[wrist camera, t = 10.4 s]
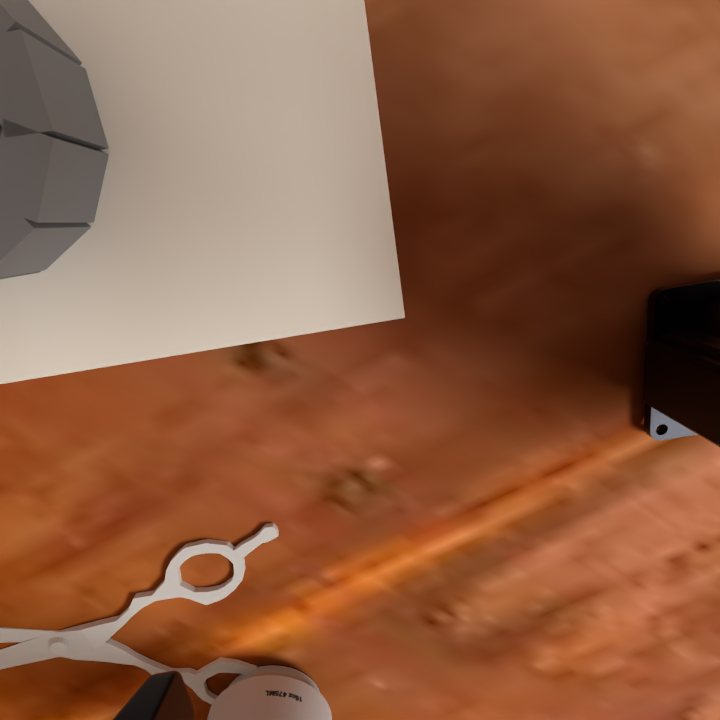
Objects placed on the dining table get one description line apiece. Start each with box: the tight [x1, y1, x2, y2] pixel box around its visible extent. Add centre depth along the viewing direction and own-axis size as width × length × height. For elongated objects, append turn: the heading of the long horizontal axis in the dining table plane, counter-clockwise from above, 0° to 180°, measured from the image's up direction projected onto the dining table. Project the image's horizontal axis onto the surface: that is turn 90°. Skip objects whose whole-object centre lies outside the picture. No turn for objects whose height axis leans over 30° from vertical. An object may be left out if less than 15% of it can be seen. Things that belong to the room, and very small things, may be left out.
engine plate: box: [0, 0, 405, 384], centre depth 13 cm, size 22×16×4 cm
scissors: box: [0, 523, 279, 705], centre depth 22 cm, size 11×1×20 cm
